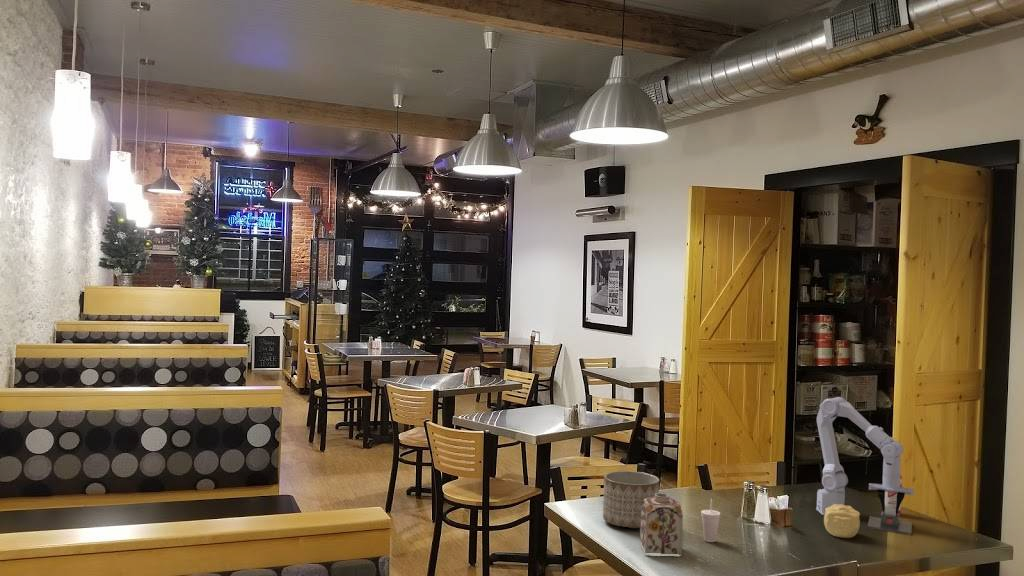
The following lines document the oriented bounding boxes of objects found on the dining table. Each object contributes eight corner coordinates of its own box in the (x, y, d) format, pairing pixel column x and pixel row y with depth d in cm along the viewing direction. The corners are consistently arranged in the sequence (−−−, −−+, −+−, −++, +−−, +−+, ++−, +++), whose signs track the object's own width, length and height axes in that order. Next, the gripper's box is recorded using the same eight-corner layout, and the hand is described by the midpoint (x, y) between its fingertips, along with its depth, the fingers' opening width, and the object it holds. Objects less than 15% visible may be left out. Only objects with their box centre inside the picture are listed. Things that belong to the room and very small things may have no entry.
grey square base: (867, 528, 276) (867, 515, 276) (869, 518, 288) (870, 506, 288) (911, 535, 269) (911, 522, 269) (911, 524, 282) (912, 512, 282)
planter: (655, 535, 260) (656, 486, 260) (598, 528, 266) (600, 481, 265) (660, 519, 279) (661, 473, 279) (607, 513, 284) (608, 468, 284)
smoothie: (720, 539, 258) (721, 498, 258) (719, 545, 252) (720, 503, 252) (700, 537, 260) (702, 495, 260) (699, 542, 254) (700, 500, 254)
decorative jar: (639, 543, 251) (641, 489, 251) (675, 545, 251) (677, 490, 251) (644, 556, 239) (646, 499, 239) (682, 558, 239) (684, 500, 239)
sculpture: (824, 537, 263) (825, 506, 263) (822, 527, 275) (823, 497, 275) (860, 542, 259) (861, 511, 259) (857, 532, 271) (858, 502, 271)
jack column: (883, 525, 278) (884, 506, 278) (884, 522, 281) (884, 504, 281) (895, 527, 276) (896, 508, 276) (895, 524, 279) (896, 505, 279)
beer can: (904, 516, 292) (905, 474, 292) (887, 515, 292) (888, 474, 292) (896, 511, 298) (897, 470, 298) (879, 511, 298) (881, 470, 298)
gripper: (868, 474, 279) (867, 511, 279) (913, 479, 272) (912, 518, 272) (870, 470, 285) (868, 506, 285) (914, 475, 278) (912, 513, 278)
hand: (890, 512), depth 279 cm, fingers closed on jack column, 4 cm apart
